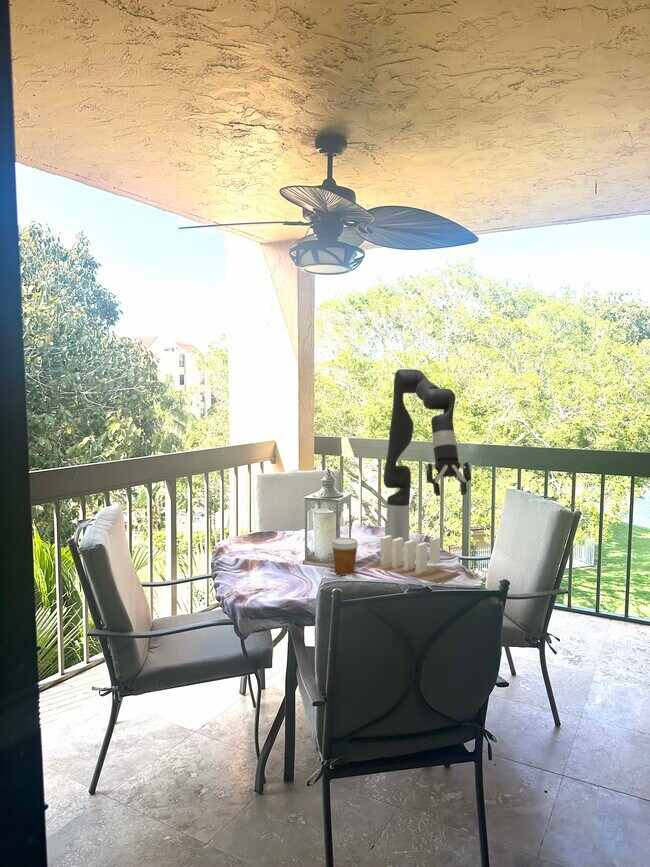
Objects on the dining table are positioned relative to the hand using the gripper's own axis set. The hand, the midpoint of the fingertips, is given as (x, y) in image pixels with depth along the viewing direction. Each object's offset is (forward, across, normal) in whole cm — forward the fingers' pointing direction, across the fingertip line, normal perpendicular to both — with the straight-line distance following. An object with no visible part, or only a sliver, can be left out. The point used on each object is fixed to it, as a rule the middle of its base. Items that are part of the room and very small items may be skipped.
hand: (450, 495), depth 182 cm
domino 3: (+21, +7, -30) cm, 38 cm away
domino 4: (+22, +4, -27) cm, 35 cm away
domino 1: (+18, +13, -38) cm, 44 cm away
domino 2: (+20, +10, -34) cm, 40 cm away
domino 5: (+20, -5, -36) cm, 42 cm away
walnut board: (+22, +6, -30) cm, 38 cm away
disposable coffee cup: (+22, +30, -32) cm, 49 cm away
